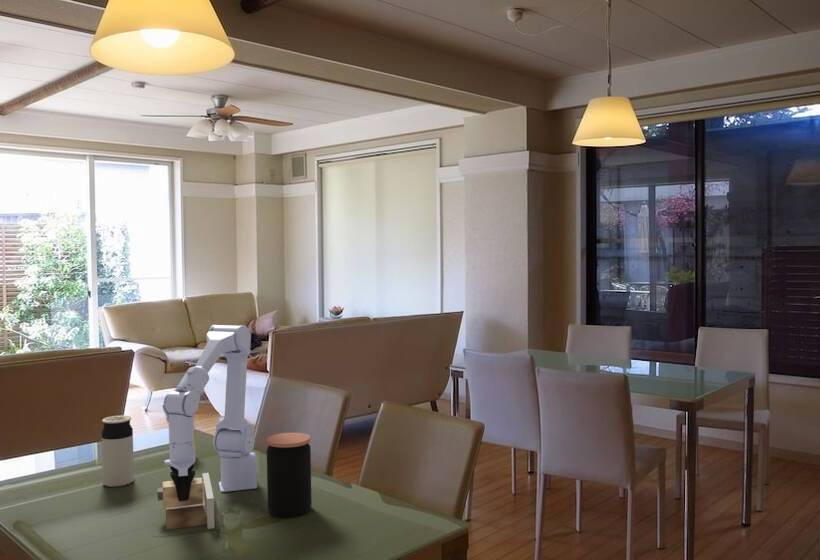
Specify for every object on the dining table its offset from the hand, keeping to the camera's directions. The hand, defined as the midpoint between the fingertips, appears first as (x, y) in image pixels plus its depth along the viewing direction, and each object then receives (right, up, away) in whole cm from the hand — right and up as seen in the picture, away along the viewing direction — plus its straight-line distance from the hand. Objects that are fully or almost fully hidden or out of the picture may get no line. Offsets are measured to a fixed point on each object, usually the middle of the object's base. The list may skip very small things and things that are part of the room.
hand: (183, 497), depth 172 cm
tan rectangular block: (0, -1, 0) cm, 1 cm away
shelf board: (+5, -5, +2) cm, 7 cm away
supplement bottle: (-15, -3, +49) cm, 51 cm away
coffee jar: (+25, -5, +4) cm, 26 cm away
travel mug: (-26, -4, +26) cm, 37 cm away
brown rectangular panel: (0, -5, 0) cm, 5 cm away
